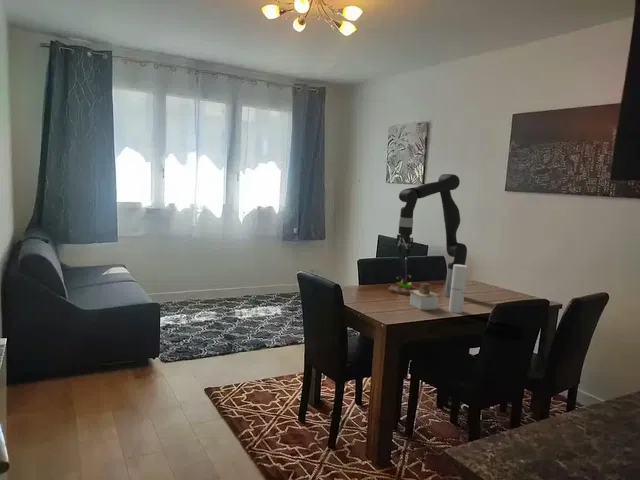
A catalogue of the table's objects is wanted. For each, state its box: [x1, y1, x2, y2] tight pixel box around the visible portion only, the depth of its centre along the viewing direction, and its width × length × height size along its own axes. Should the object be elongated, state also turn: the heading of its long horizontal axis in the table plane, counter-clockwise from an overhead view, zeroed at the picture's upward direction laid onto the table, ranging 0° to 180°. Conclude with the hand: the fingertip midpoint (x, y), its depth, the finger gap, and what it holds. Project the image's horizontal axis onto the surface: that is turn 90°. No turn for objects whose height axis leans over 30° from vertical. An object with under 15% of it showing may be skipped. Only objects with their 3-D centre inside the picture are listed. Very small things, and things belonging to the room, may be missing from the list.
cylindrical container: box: [448, 264, 468, 314], centre depth 249 cm, size 7×7×25 cm
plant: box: [387, 274, 420, 297], centre depth 289 cm, size 20×20×11 cm
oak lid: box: [409, 282, 441, 298], centre depth 253 cm, size 12×12×6 cm
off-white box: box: [409, 293, 439, 311], centre depth 254 cm, size 11×11×7 cm
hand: (403, 254), depth 261 cm, fingers open, 8 cm apart
